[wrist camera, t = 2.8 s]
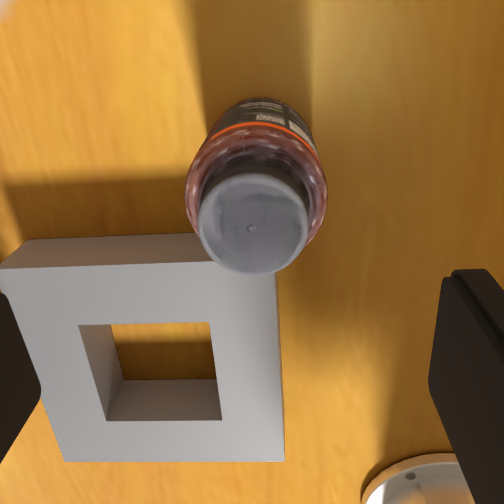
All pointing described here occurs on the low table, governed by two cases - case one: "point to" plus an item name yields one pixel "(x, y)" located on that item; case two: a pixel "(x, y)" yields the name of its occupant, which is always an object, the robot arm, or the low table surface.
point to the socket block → (138, 312)
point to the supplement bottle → (256, 188)
